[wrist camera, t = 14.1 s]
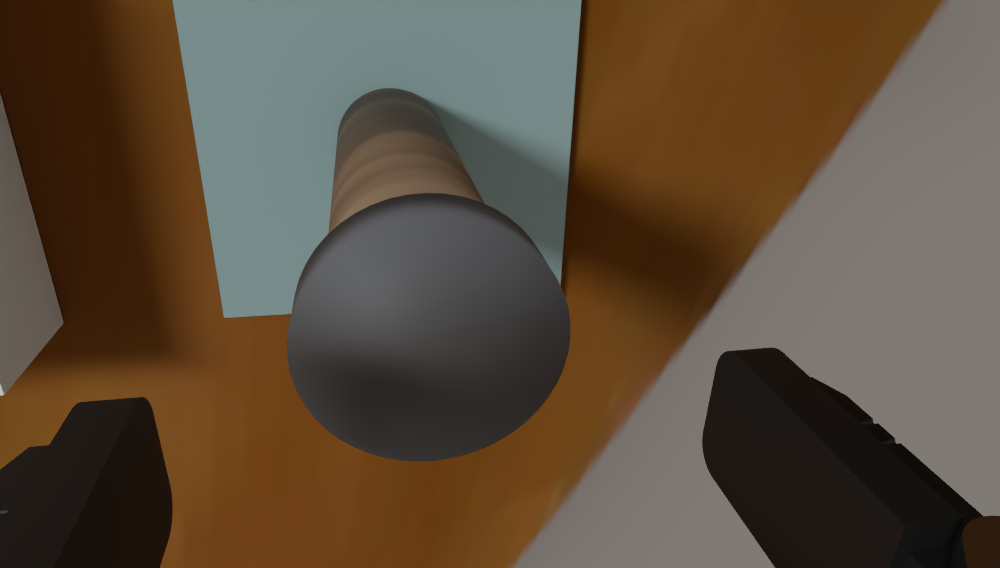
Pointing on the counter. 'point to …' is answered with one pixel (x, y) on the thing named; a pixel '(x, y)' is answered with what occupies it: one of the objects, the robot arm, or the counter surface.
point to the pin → (420, 297)
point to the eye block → (21, 271)
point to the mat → (343, 79)
